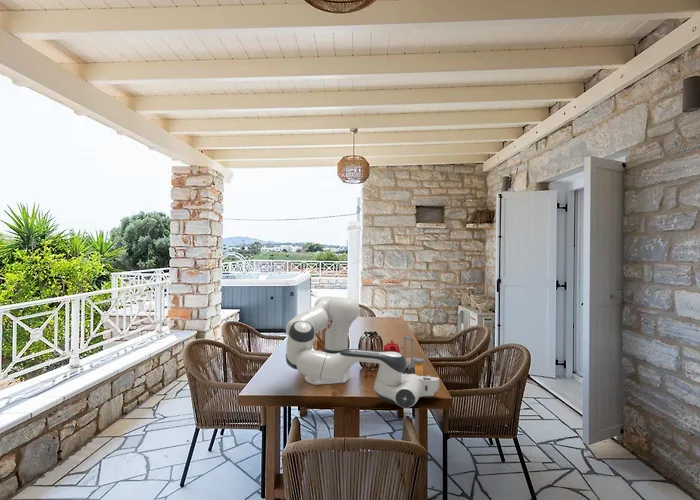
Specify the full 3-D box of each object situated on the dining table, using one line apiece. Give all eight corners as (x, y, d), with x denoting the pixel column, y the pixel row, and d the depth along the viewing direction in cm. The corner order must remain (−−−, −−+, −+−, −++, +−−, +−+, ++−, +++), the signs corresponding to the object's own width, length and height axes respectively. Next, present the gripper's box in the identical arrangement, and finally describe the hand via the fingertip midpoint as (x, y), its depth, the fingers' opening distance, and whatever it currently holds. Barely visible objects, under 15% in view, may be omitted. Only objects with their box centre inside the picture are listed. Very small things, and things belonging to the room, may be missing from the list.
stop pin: (417, 388, 177) (417, 361, 178) (411, 384, 182) (411, 358, 182) (426, 386, 179) (426, 360, 180) (420, 383, 184) (420, 357, 184)
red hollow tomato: (379, 355, 236) (379, 340, 236) (391, 353, 243) (391, 337, 243) (391, 358, 229) (391, 342, 229) (403, 355, 235) (403, 339, 235)
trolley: (392, 381, 186) (392, 341, 187) (383, 376, 195) (383, 337, 195) (416, 378, 192) (415, 339, 192) (406, 373, 200) (405, 335, 200)
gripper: (387, 390, 165) (394, 381, 178) (437, 396, 158) (440, 385, 171) (387, 375, 165) (394, 366, 178) (437, 380, 158) (440, 371, 171)
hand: (417, 376), depth 175 cm, fingers open, 8 cm apart
